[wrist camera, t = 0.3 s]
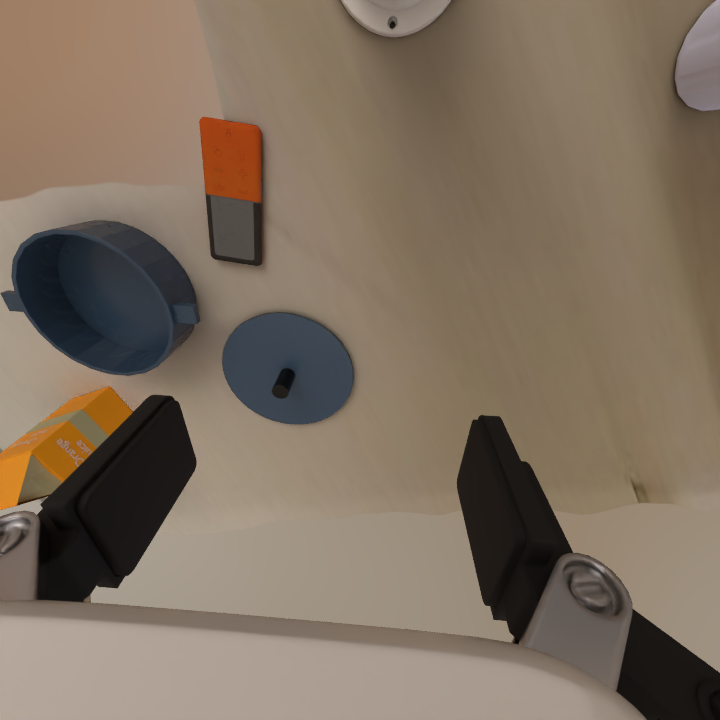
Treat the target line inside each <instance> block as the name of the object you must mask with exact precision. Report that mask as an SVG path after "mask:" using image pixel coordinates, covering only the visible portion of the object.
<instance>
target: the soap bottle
mask: <svg viewBox="0 0 720 720" xmlns="http://www.w3.org/2000/svg"><path fill="white" fill-rule="evenodd" d="M674 78H675V83H676V87H677V92H678V95H679V96H680V97H681V98H682V100H683V101H684V102H685V103H686V105H687V106H689V107H692V108H695V109H698V110H701V111H709V110H718V109H720V0H716V1H715V2H713V3H712V4H711V5H710V6H709V7H708V8H707V9H706V10H705V11H704V12H703V13H702V15H701V16H700V17H699V19H698V20H697V21H696V23H695V24H694V26H693V27H692V28H691V30H690V31H689V33H688V34H687V36H686V38H685V41H684V43H683V45H682V48H681V50H680V52H679V55H678V57H677V64H676V70H675V77H674Z"/></svg>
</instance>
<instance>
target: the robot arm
mask: <svg viewBox="0 0 720 720" xmlns="http://www.w3.org/2000/svg"><path fill="white" fill-rule="evenodd" d="M450 1H451V0H341V2H342V3H343V5H344V7H345V8H346V10H347V11H348V13H349V14H350V15H351V16H352V17H353V18H354V19H355V20H356V21H357V22H358V23H359V24H360V25H361V26H363V27H364V28H366V29H367V30H369V31H370V32H373V33H375V34H378V35H381V36H386V37H401V36H408V35H410V34H413V33H415V32H418V31H420V30H422V29H423V28H425V27H426V26H428V25H429V24H431V23H432V22H433V21H434V20H435V19H436V18H437V17H438V16H439V15H440V14H441V13H442V12H443V11H444V10H445V8H446V7H447V6H448V4H449V3H450ZM391 22H393V23H394V24H395V27H394V28H390V23H391ZM195 468H196V457H195V454H194V451H193V447H192V444H191V441H190V437H189V434H188V431H187V427H186V424H185V421H184V418H183V414H182V411H181V408H180V404H179V402H178V401H175V400H174V398H173V397H172V396H164V395H151V396H149V397H148V398H147V399H146V400H145V401H144V402H143V403H142V404H141V405H140V406H139V407H138V408H137V409H136V410H135V411H134V412H133V413H132V414H131V415H130V416H129V417H128V418H127V419H126V420H125V421H124V422H123V423H122V424H121V425H120V426H119V427H118V428H117V429H116V430H115V431H114V432H113V433H112V434H111V435H110V436H109V437H108V438H107V439H106V440H105V441H104V442H103V443H102V444H101V445H100V446H99V447H98V448H97V449H96V450H95V451H94V452H93V453H92V454H91V455H90V456H89V457H88V458H87V459H86V460H85V461H84V462H83V463H82V464H81V465H80V466H79V467H78V468H77V469H76V470H75V471H74V472H73V473H72V474H71V475H70V476H69V477H68V478H67V479H66V480H65V481H64V482H63V483H62V484H61V485H60V486H59V487H58V488H57V489H56V490H55V491H54V492H53V493H52V494H51V495H50V496H48V497H47V498H46V499H45V500H44V501H43V502H42V503H41V504H40V505H41V506H42V507H43V509H42V510H41V511H40V512H39V513H38V514H37V515H36V514H35V513H34V512H29V511H19V512H13V513H10V514H7V515H3V516H1V517H0V720H720V673H719V672H718V671H716V670H715V669H714V668H712V667H711V666H710V665H708V664H707V663H706V662H704V661H703V660H701V659H700V658H698V657H697V656H696V655H695V654H693V653H692V652H690V651H689V650H688V649H687V648H685V647H684V646H682V645H681V644H680V643H678V642H677V641H676V640H674V639H673V638H672V637H670V636H669V635H668V634H666V633H665V632H663V631H662V630H661V629H659V628H658V627H656V626H655V625H654V624H653V623H651V622H650V621H648V620H647V619H646V618H644V617H643V616H642V615H640V614H639V613H638V612H636V611H635V610H633V609H632V601H631V598H630V595H629V592H628V591H627V589H626V587H625V586H624V584H623V583H622V581H621V580H620V579H619V578H618V577H617V576H616V574H615V573H614V572H613V571H612V570H610V569H609V568H608V567H606V566H605V565H604V564H603V563H601V562H600V561H598V560H596V559H594V558H592V557H590V556H588V555H584V554H580V553H573V551H572V549H571V547H570V545H569V543H568V541H567V539H566V537H565V535H564V533H563V531H562V529H561V527H560V525H559V523H558V521H557V519H556V517H555V515H554V513H553V510H552V508H551V506H550V504H549V502H548V500H547V498H546V496H545V494H544V492H543V490H542V488H541V486H540V484H539V482H538V480H537V478H536V476H535V473H534V471H533V469H532V468H531V466H530V465H529V464H528V463H527V462H524V461H521V460H520V458H519V456H518V454H517V451H516V449H515V447H514V445H513V443H512V441H511V438H510V436H509V434H508V432H507V430H506V428H505V425H504V423H503V421H502V419H501V418H500V417H499V416H484V415H481V416H479V418H478V420H473V421H472V424H471V428H470V432H469V436H468V439H467V443H466V447H465V451H464V455H463V458H462V462H461V466H460V470H459V474H458V478H457V489H458V494H459V498H460V503H461V507H462V511H463V516H464V520H465V525H466V529H467V534H468V538H469V542H470V546H471V551H472V556H473V560H474V564H475V568H476V573H477V578H478V582H479V586H480V591H481V595H482V599H483V602H484V604H485V605H486V606H490V607H491V611H492V615H493V619H494V620H502V621H507V624H508V628H509V631H510V633H511V634H512V635H513V636H514V637H513V640H512V642H511V643H509V642H504V641H498V640H491V639H485V638H479V637H472V636H463V635H454V634H445V633H435V632H427V631H418V630H408V629H396V628H385V627H375V626H363V625H353V624H342V623H331V622H320V621H308V620H296V619H284V618H273V617H262V616H251V615H238V614H226V613H215V612H202V611H191V610H179V609H165V608H153V607H141V606H128V605H116V604H103V603H91V598H90V594H91V593H92V591H93V590H94V588H95V587H96V585H97V586H99V587H108V588H118V586H119V585H120V583H121V582H122V580H123V579H124V577H125V576H128V575H129V574H130V573H131V572H132V571H133V570H134V569H135V567H136V565H137V564H138V562H139V561H140V559H141V557H142V555H143V554H144V552H145V551H146V549H147V547H148V546H149V544H150V543H151V541H152V539H153V538H154V536H155V534H156V533H157V531H158V530H159V528H160V526H161V525H162V523H163V521H164V520H165V518H166V516H167V515H168V513H169V512H170V510H171V508H172V507H173V505H174V503H175V502H176V500H177V499H178V497H179V495H180V494H181V492H182V490H183V489H184V487H185V486H186V484H187V482H188V481H189V479H190V477H191V476H192V474H193V472H194V471H195Z"/></svg>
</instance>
